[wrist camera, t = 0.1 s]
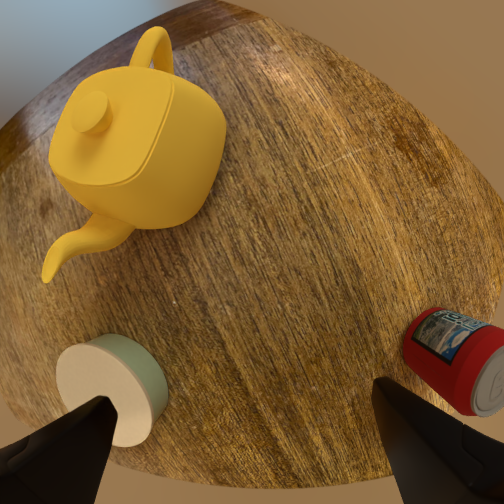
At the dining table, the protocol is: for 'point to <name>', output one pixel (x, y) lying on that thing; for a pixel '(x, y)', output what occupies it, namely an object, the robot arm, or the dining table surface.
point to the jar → (115, 383)
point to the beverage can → (458, 359)
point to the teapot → (134, 150)
